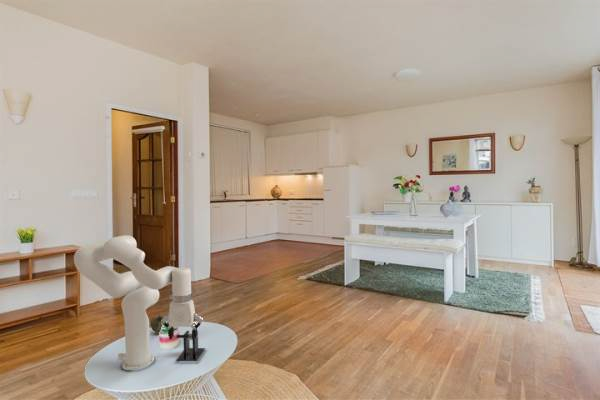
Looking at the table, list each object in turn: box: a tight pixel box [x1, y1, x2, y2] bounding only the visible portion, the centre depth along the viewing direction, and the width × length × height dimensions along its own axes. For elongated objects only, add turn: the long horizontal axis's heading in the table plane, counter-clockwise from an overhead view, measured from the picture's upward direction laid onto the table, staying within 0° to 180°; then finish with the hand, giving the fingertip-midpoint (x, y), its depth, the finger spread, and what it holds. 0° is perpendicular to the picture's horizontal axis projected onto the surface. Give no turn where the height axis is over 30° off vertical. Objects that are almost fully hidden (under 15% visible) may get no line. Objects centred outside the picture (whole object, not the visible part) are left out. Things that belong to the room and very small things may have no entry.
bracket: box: [176, 330, 206, 362], centre depth 151 cm, size 11×9×11 cm
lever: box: [176, 333, 192, 341], centre depth 147 cm, size 12×5×2 cm, turn 178°
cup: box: [149, 315, 164, 336], centre depth 176 cm, size 8×7×8 cm
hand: (182, 338), depth 143 cm, fingers open, 9 cm apart
